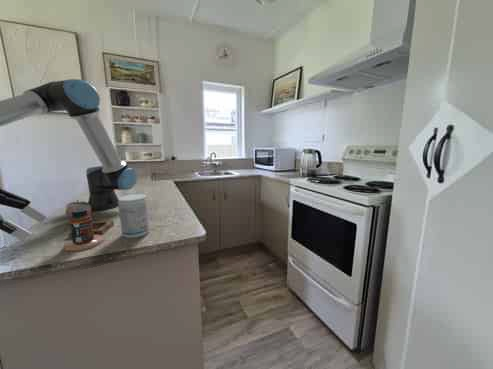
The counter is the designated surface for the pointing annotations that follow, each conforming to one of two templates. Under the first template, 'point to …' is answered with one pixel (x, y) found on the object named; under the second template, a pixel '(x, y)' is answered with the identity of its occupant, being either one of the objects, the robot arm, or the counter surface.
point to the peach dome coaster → (75, 247)
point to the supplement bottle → (81, 227)
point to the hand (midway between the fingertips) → (36, 227)
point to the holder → (104, 227)
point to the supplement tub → (133, 215)
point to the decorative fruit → (77, 207)
